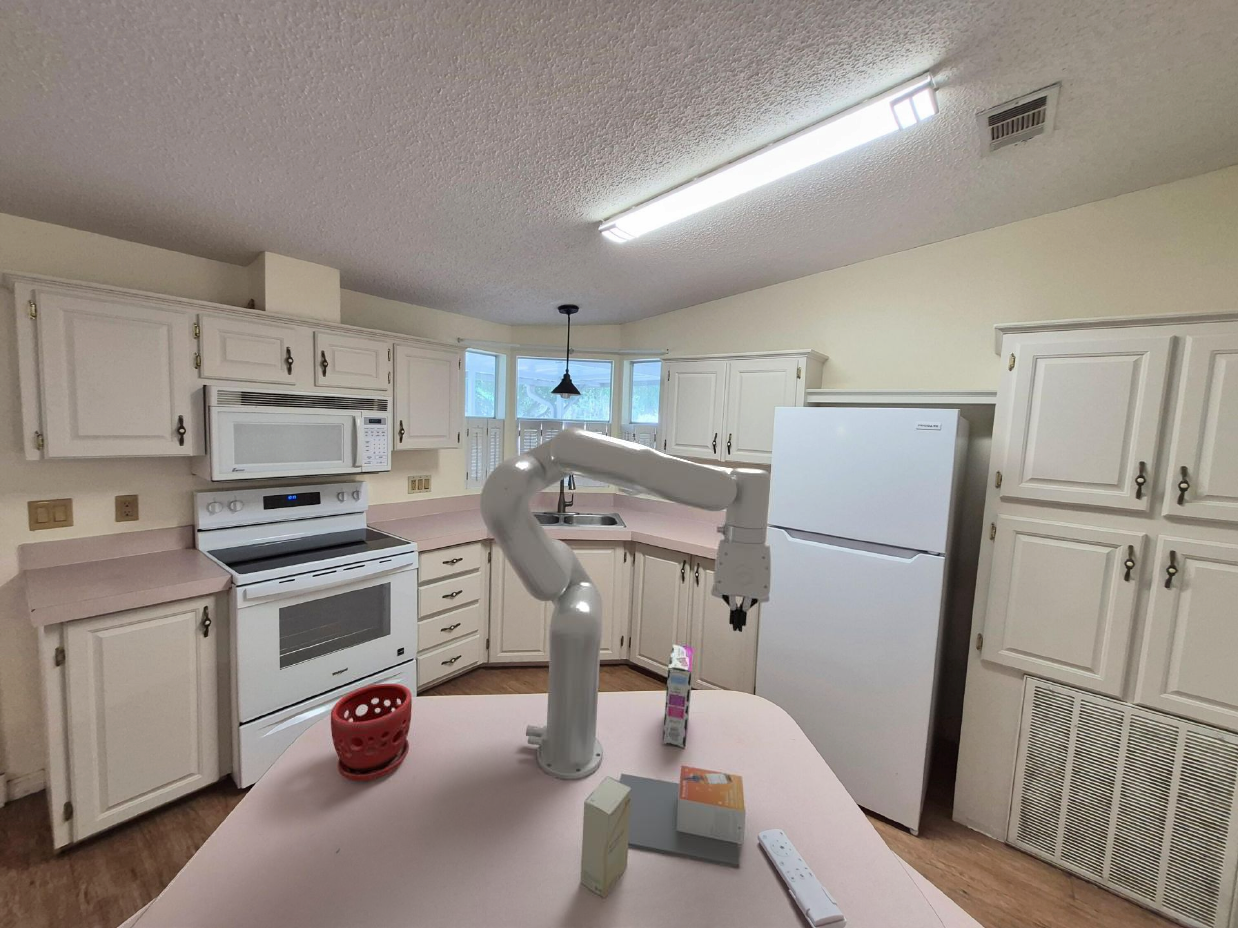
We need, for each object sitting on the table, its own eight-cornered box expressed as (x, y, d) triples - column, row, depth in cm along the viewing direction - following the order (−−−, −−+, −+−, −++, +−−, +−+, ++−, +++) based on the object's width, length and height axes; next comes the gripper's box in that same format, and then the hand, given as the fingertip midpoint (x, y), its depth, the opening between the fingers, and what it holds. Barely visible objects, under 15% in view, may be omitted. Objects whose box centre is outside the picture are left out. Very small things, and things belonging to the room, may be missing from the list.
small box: (746, 812, 72) (678, 799, 74) (743, 845, 73) (675, 832, 75) (742, 774, 80) (680, 763, 82) (739, 805, 81) (678, 793, 82)
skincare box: (604, 899, 64) (609, 816, 63) (578, 881, 66) (582, 801, 65) (628, 864, 69) (632, 787, 68) (603, 848, 72) (607, 774, 71)
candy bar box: (686, 749, 95) (692, 671, 94) (661, 744, 96) (667, 667, 95) (689, 716, 106) (694, 646, 104) (667, 712, 107) (671, 642, 105)
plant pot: (409, 732, 96) (410, 675, 95) (411, 777, 84) (413, 713, 83) (335, 748, 90) (335, 688, 89) (326, 799, 78) (326, 730, 77)
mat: (607, 842, 73) (607, 838, 73) (621, 776, 87) (621, 773, 87) (739, 867, 70) (739, 864, 70) (732, 795, 84) (732, 792, 83)
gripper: (704, 534, 86) (697, 631, 87) (790, 542, 83) (780, 642, 85) (704, 526, 93) (697, 615, 95) (782, 533, 91) (774, 625, 92)
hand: (737, 628), depth 90 cm, fingers closed
